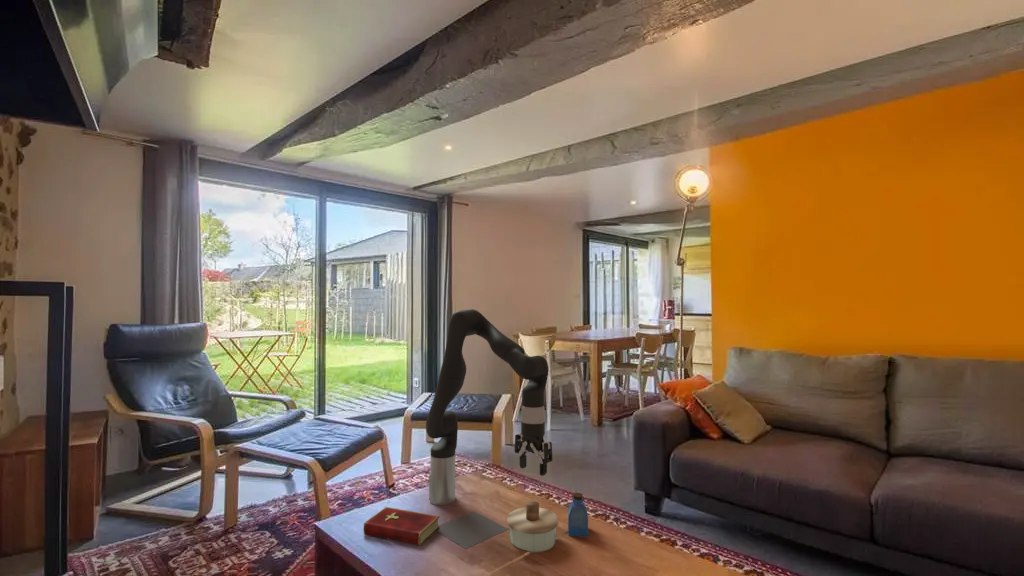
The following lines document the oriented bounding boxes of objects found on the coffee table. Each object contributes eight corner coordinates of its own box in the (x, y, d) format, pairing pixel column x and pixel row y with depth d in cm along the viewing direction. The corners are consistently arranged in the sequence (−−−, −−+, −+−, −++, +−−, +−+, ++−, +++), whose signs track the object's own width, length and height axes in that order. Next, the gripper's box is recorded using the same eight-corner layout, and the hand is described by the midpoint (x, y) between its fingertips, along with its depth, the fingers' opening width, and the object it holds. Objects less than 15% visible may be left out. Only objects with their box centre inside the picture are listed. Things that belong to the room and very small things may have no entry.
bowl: (501, 540, 150) (501, 521, 150) (532, 525, 160) (532, 507, 160) (533, 557, 140) (533, 537, 140) (564, 541, 150) (564, 521, 150)
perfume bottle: (586, 527, 159) (586, 491, 159) (588, 536, 153) (587, 498, 153) (568, 526, 159) (568, 490, 160) (568, 535, 153) (568, 498, 154)
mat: (431, 529, 157) (431, 528, 157) (473, 512, 170) (473, 511, 170) (465, 550, 144) (465, 548, 144) (508, 530, 157) (508, 528, 157)
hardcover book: (419, 547, 146) (419, 533, 146) (363, 535, 153) (363, 522, 153) (439, 528, 157) (439, 515, 157) (386, 518, 165) (386, 506, 165)
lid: (496, 521, 150) (496, 503, 150) (531, 505, 161) (531, 489, 162) (533, 539, 139) (533, 520, 139) (568, 521, 150) (568, 504, 150)
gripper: (508, 417, 153) (508, 468, 153) (541, 426, 143) (541, 480, 143) (525, 413, 159) (525, 462, 158) (557, 421, 148) (557, 474, 148)
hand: (532, 471), depth 150 cm, fingers open, 8 cm apart
